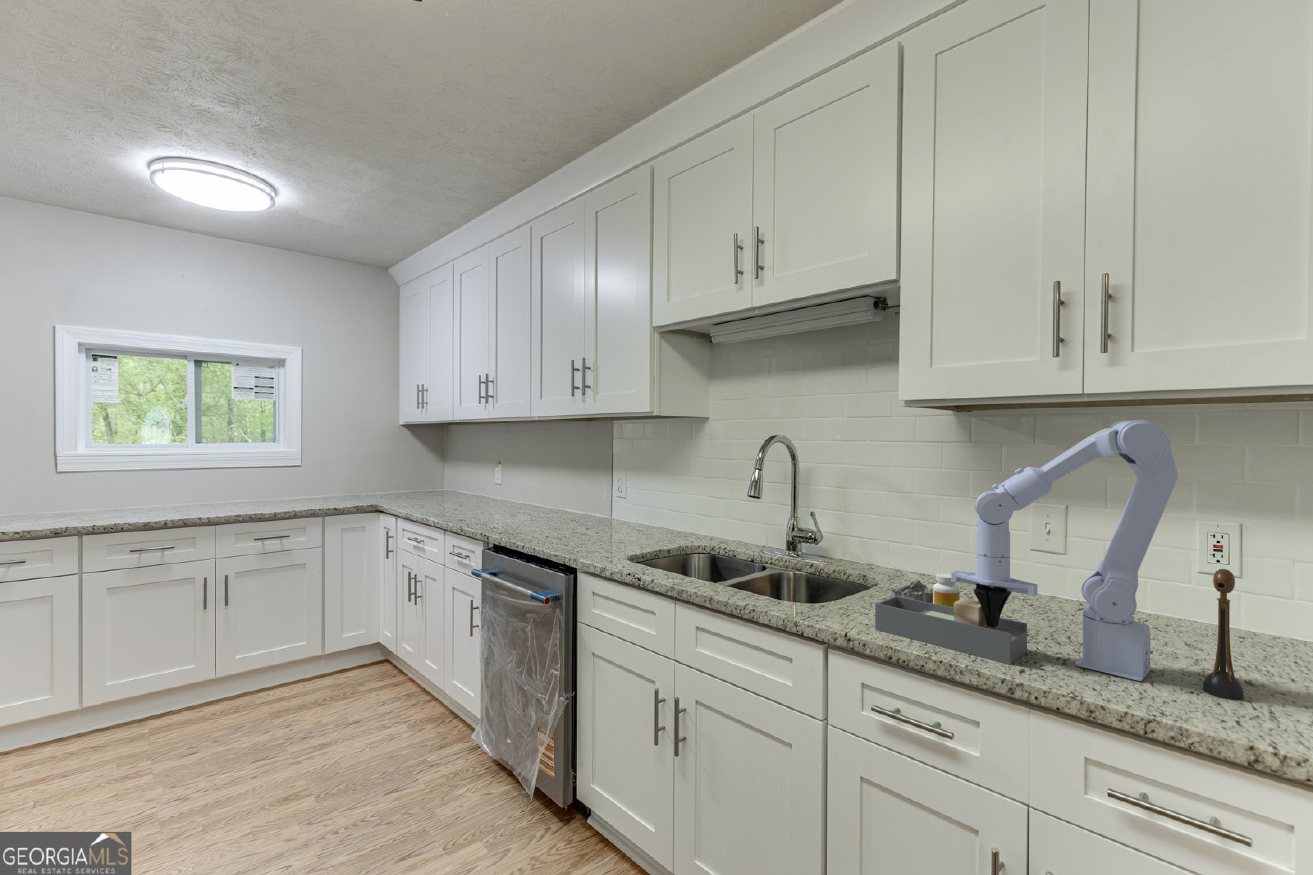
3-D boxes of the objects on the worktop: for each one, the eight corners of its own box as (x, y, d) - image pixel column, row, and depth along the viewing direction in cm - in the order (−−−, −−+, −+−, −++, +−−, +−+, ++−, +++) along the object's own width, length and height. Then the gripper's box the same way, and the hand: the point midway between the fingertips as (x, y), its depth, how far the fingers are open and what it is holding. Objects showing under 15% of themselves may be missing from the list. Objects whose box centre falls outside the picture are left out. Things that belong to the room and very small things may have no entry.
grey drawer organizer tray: (1027, 652, 115) (1027, 623, 115) (1010, 664, 109) (1010, 634, 109) (895, 620, 134) (895, 595, 134) (875, 629, 128) (875, 603, 128)
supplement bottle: (962, 623, 132) (962, 578, 132) (936, 621, 133) (936, 577, 133) (955, 615, 137) (955, 573, 137) (930, 614, 138) (930, 572, 138)
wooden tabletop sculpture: (1240, 704, 93) (1240, 574, 92) (1199, 694, 96) (1200, 569, 96) (1245, 693, 96) (1245, 569, 96) (1206, 684, 100) (1206, 564, 100)
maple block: (987, 625, 118) (987, 603, 118) (978, 631, 115) (978, 607, 115) (963, 620, 121) (963, 598, 121) (953, 625, 118) (953, 602, 118)
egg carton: (920, 595, 155) (920, 579, 155) (942, 603, 148) (943, 586, 148) (886, 598, 152) (886, 582, 152) (907, 607, 145) (907, 590, 145)
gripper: (944, 552, 118) (944, 621, 118) (1028, 564, 107) (1028, 640, 107) (959, 547, 122) (959, 613, 122) (1041, 558, 111) (1041, 631, 112)
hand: (992, 625), depth 115 cm, fingers closed
